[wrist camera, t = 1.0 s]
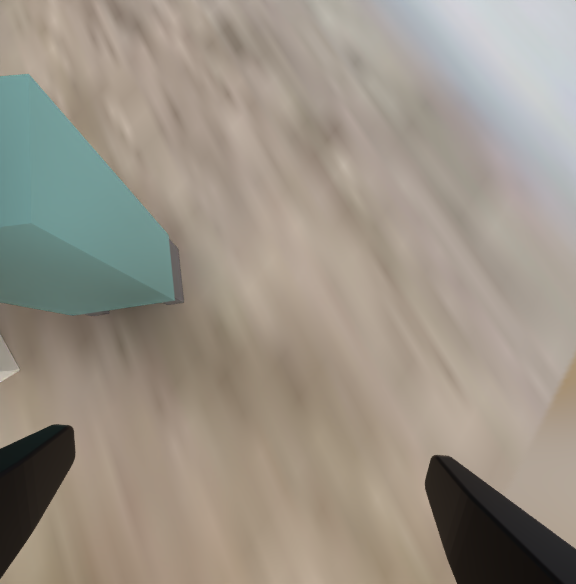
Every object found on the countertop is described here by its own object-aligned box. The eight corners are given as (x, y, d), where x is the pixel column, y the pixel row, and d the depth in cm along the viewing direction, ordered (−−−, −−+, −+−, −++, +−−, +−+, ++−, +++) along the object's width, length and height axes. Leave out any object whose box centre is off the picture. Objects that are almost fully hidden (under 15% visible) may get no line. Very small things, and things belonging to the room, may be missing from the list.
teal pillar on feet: (184, 305, 20) (31, 223, 7) (92, 319, 19) (-247, 257, 7) (178, 246, 21) (28, 74, 8) (89, 257, 20) (-224, 94, 7)
